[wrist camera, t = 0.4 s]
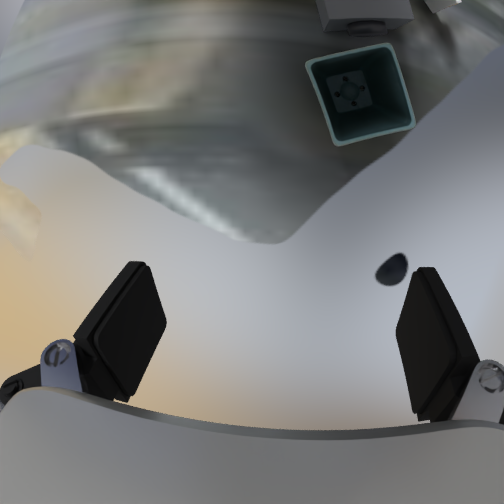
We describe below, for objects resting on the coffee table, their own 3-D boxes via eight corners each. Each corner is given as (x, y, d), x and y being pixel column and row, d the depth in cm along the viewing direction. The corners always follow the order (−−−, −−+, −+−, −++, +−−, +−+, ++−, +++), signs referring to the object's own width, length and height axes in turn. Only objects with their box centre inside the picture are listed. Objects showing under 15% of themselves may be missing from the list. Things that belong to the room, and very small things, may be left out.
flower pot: (326, 134, 34) (334, 148, 26) (301, 67, 30) (303, 61, 22) (391, 117, 31) (417, 128, 24) (369, 51, 27) (391, 41, 20)
